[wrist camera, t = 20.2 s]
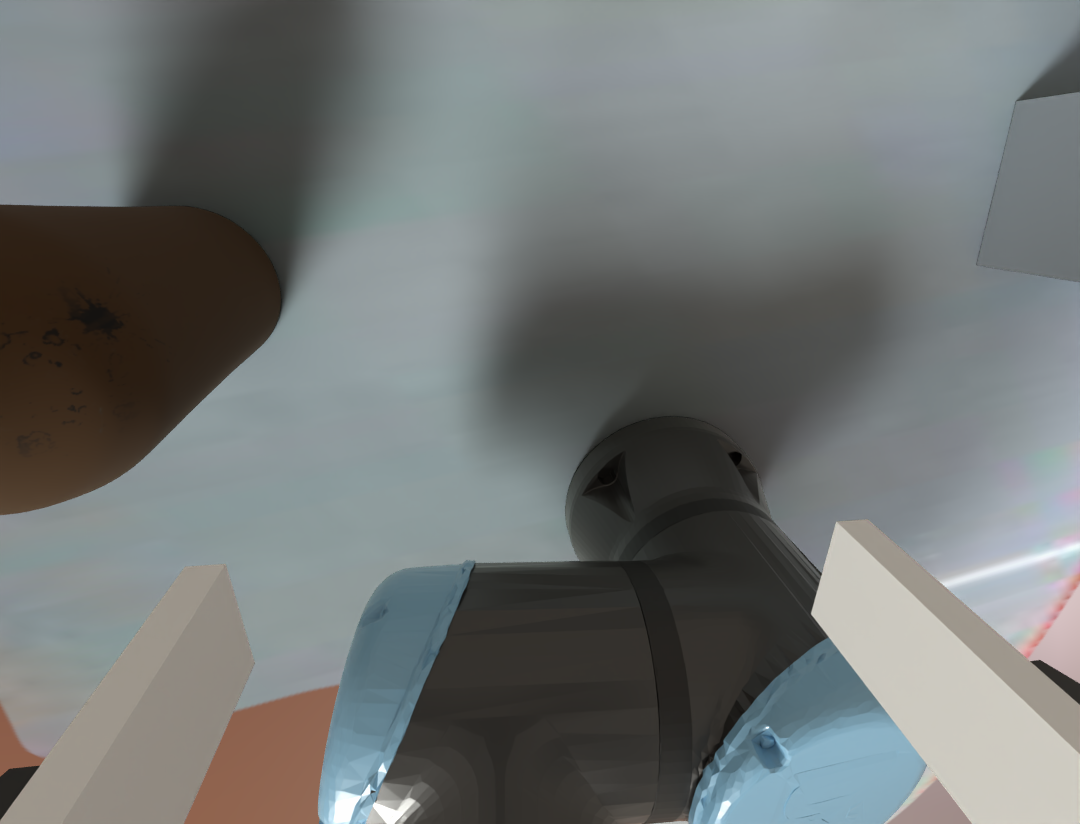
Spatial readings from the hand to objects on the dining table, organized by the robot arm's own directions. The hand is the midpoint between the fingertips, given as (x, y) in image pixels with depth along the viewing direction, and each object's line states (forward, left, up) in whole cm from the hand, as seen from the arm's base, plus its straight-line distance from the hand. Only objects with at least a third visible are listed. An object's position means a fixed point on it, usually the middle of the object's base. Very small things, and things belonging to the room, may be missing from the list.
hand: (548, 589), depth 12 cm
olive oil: (+4, +18, -26) cm, 32 cm away
